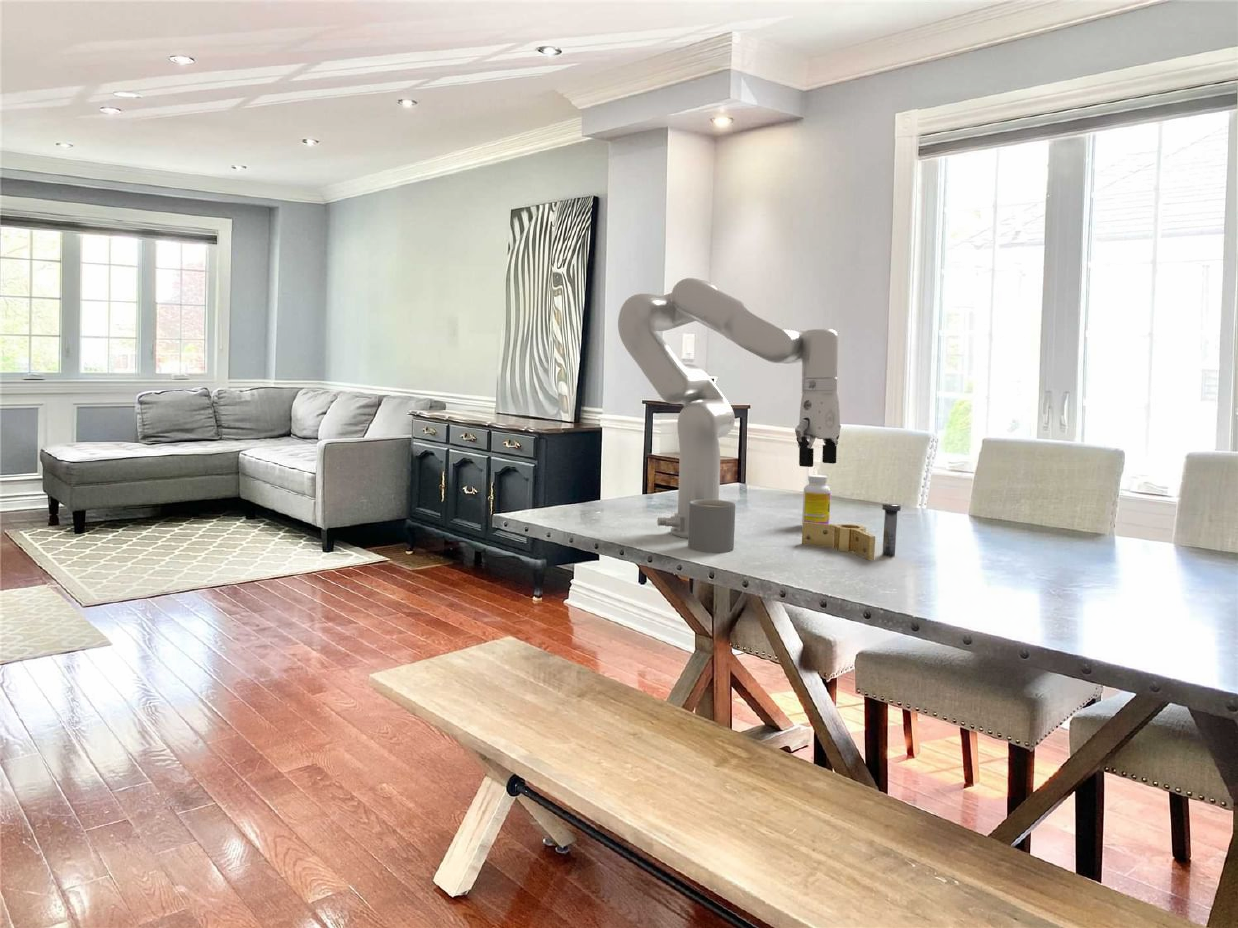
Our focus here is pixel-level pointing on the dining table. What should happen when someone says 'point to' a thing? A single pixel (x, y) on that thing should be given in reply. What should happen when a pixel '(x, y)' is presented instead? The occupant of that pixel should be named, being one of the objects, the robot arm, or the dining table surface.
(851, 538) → the hinge base
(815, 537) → the wooden hinge leaf
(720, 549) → the coffee mug
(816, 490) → the supplement bottle
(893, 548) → the hinge pin
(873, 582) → the dining table surface
